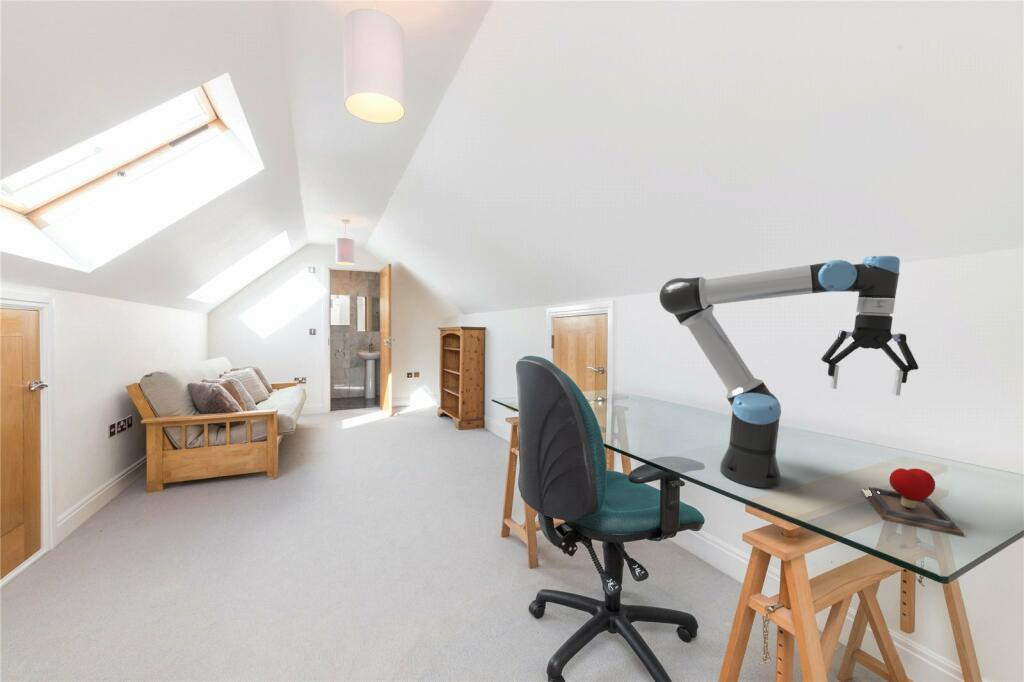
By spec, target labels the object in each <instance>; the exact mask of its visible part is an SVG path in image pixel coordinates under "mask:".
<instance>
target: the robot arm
mask: <svg viewBox="0 0 1024 682" xmlns="http://www.w3.org/2000/svg"><path fill="white" fill-rule="evenodd" d="M900 263H901V260H900V258H899V257H898V256H895V255H873V256H865V257H864V258H863V259H862V262H861V263H858V264H857V263H855V264H853V263H851V262H849V261H847V260H842V259H836V260H830V261H828V262H821V263H816V264H807V265H801V266H793V267H786V268H780V269H773V270H771V269H770V270H766V271H765V270H764V271H758V272H757V271H756V272H750V273H744V274H738V275H730V276H729V275H728V276H723V277H715V278H708V279H706V278H704V277H703V276H697V277H690V278H688V277H684V278H683V277H676V278H673V279H669V280H668V281H667V282H666V283H665V284H663V286H662V287H661V289H660V291H659V302H660V305H661V307H662V308H663V309H664V311H666V312H668V313H669V314H672V315H674V317H675V318H676V319H677V321H678V323H679V324H680V325H681V326H685V327H687V329H688V330H689V332H690V333H691V334H692V337H693V338H694V339H695V341H696V342H697V344H698V345H699V347H700V349H701V350H702V352H703V353H704V355H705V357H706V358H707V360H708V362H709V363H710V364H711V366H712V367H713V369H714V371H715V372H716V374H717V376H718V378H719V379H720V380H721V382H722V383H723V385H724V387H725V388H726V389H727V390H726V391H727V393H726V396H725V397H726V399H727V400H728V402H729V404H730V406H731V410H732V411H731V412H732V413H731V422H730V431H729V432H730V433H729V443H728V447H727V449H726V451H725V453H724V455H723V458H722V459H721V460H720V467H719V472H720V473H721V474H722V475H723V476H724V477H726V478H727V479H730V480H731V481H733V482H736V483H737V484H742V485H745V486H748V487H754V488H759V489H760V488H762V489H767V488H769V489H771V488H776V487H778V486H779V485H780V484H781V472H780V468H779V464H778V460H777V456H776V453H777V444H778V437H779V435H778V434H779V425H780V417H781V414H782V410H781V409H782V407H781V403H780V401H779V400H778V398H777V397H776V396H775V395H774V394H773V393H772V392H771V391H770V389H768V387H767V385H766V384H765V383H764V381H763V380H762V379H760V378H759V379H758V378H755V377H754V375H753V374H752V372H751V371H750V369H749V368H748V366H747V364H746V363H745V361H744V360H743V358H742V357H741V355H740V354H739V352H738V351H737V350H736V348H735V346H734V345H733V343H732V342H731V340H730V338H729V337H728V335H727V334H726V332H725V331H724V329H723V328H722V326H721V325H720V323H719V322H718V320H717V318H716V317H715V315H714V314H713V311H714V307H715V306H714V305H719V304H729V303H738V302H748V301H756V300H764V299H765V300H766V299H773V298H783V297H791V296H792V297H793V296H800V295H801V296H803V295H810V294H822V293H829V292H845V293H846V292H850V293H852V292H853V293H856V292H857V293H858V299H857V306H856V313H858V314H856V315H855V320H854V329H853V330H852V331H847V330H843V329H841V330H839V332H838V334H837V338H836V339H835V340H834V342H833V343H832V344H831V345H830V347H829V348H828V350H827V351H826V352H825V353H824V354H823V355H822V357H821V358H820V359H821V361H822V362H823V363H826V364H828V369H827V370H828V371H827V375H828V376H829V377H831V380H830V381H831V382H830V388H832V389H833V390H837V387H838V377H839V371H840V370H839V369H840V366H839V365H838V363H840V362H841V361H842V360H844V359H845V358H846V357H847V356H849V355H850V354H852V353H853V352H854V351H856V350H857V349H859V348H862V349H874V350H879V349H881V350H882V351H883V352H884V353H885V354H886V356H888V357H889V358H890V360H891V361H892V362H893V363H894V364H895V365H896V366H897V367H898V368H899V369H895V372H894V378H893V384H892V385H893V387H892V391H891V392H892V394H893V395H895V396H898V397H899V396H900V395H901V391H902V390H901V389H902V384H906V383H907V382H908V374H909V372H911V371H914V370H916V371H917V370H918V369H919V366H918V365H919V364H918V363H917V361H916V359H915V357H914V355H913V353H912V351H911V348H910V347H909V345H908V343H907V335H906V334H905V333H894V334H893V333H892V326H893V316H892V315H893V314H894V311H895V303H896V296H897V290H898V284H899V283H898V282H899V277H900V265H901V264H900ZM850 337H851V338H852V339H853V340H854V341H852V342H851V343H850V344H849V345H848V346H846V347H845V348H844V349H842V351H840V352H838V353H837V354H836V352H837V351H838V350H839V348H840V347H841V346H842V345H843V344H844V342H845V341H846V340H848V339H849V338H850ZM892 339H893V341H894V342H896V343H897V345H898V349H899V350H900V352H901V354H902V356H903V359H904V361H905V362H906V363H905V362H904V361H903V360H902V359H901V357H899V356H898V354H897V353H896V352H895V351H894V350H893V348H892V347H891V346H890V345H889V344H888V343H889V342H890V341H892ZM835 354H836V355H835ZM834 355H835V356H834Z"/></svg>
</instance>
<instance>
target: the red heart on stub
mask: <svg viewBox="0 0 1024 682" xmlns="http://www.w3.org/2000/svg"><path fill="white" fill-rule="evenodd" d="M888 479H889V480H888V481H889V484H890V487H891V488H892V489H893V491H896V492H898V493H900V494H901V495H902V496H901V497H902V498H901V504H902V505H903V506H904V507H905V508H907V509H912V508H915V507H916V502H917V501H921V500H924V499H926V498H929V497H930V496H931V495H932V494H933V493H934V492H935V489H936V481H935V479H934V477H933V475H932V474H931V473H929V472H928V471H926V470H924V469H920V468H916V467H915V468H909V469H906V468H903V467H902V468H896V469H895V470H893V471H892V472H891V473H890V475H889V478H888Z"/></svg>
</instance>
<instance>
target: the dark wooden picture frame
mask: <svg viewBox="0 0 1024 682" xmlns="http://www.w3.org/2000/svg"><path fill="white" fill-rule="evenodd" d="M868 489H869V490H870V491H871V493H872V496H868V497H867V498H866V500H867V501H868V502H869V503H870V504H871V506H872V508H873V509H874V510H875V511H876V513H877V514H878V515H879V517H880V518H881V520H884V521H887V522H893V523H897V524H901V525H902V524H903V525H907V526H912V527H916V528H921V529H927V530H932V531H935V532H940V533H945V534H949V535H950V534H951V535H955V536H959V537H965V532H964V531H963V530H962V529H961V528H960V527H959V526H958V525H957V524H956V523H955V521H953V520H952V518H950V516H948V515H947V514H946V513H945V512H944V511H943V510H942V509H941V508H940V507H939V506H938V505H937V504H936V503H934V501H933V500H932V499H930V498H929V497H927V498H926V499H924V500H921V501H917V502H916V507H915V508H912V509H907V508H905V507H904V506H903V505H902V504H901V498H902V497H901V496H902V495H901V494H900V493H898V492H897V491H895V490H889V489H885V488H880V487H870V486H869V487H868ZM877 491H879V492H880V494H878V493H877Z"/></svg>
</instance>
